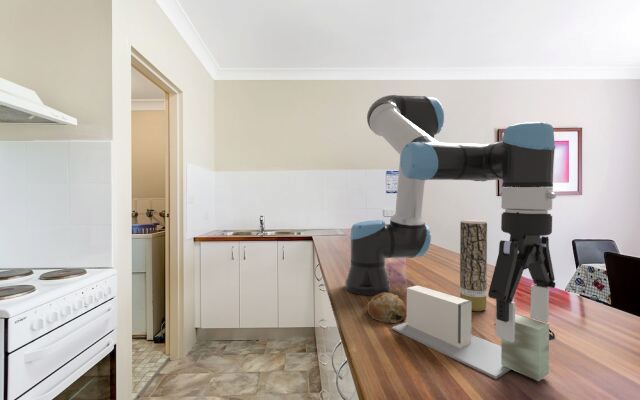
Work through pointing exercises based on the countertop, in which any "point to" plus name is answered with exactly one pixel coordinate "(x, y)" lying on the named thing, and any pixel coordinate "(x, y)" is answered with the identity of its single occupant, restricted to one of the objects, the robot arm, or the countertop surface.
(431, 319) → the block
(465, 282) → the paper tube
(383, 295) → the bread roll
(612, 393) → the countertop surface
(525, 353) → the pale green block
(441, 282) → the countertop surface
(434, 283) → the countertop surface
